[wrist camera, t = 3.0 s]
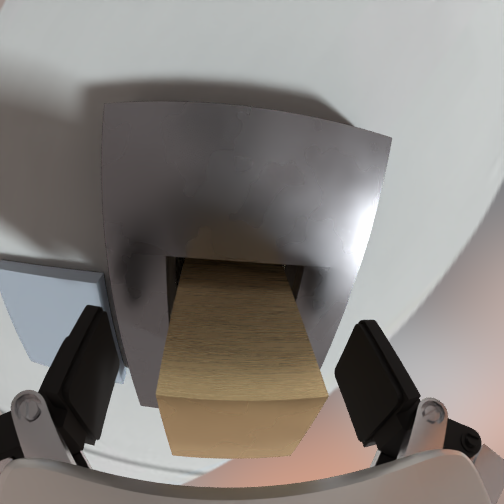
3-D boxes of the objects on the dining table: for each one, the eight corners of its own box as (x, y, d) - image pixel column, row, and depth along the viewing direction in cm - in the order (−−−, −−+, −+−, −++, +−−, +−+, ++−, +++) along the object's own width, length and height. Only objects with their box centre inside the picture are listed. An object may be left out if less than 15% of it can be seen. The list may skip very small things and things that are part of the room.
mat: (1, 259, 12) (-8, 267, 11) (103, 272, 13) (96, 283, 12) (35, 352, 15) (31, 360, 14) (126, 372, 16) (123, 383, 15)
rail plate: (128, 106, 9) (104, 103, 7) (362, 132, 11) (392, 137, 8) (146, 375, 16) (140, 405, 14) (292, 382, 18) (299, 411, 15)
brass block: (189, 242, 12) (155, 394, 5) (276, 249, 13) (328, 396, 6) (188, 312, 14) (172, 455, 7) (263, 316, 15) (290, 455, 8)
